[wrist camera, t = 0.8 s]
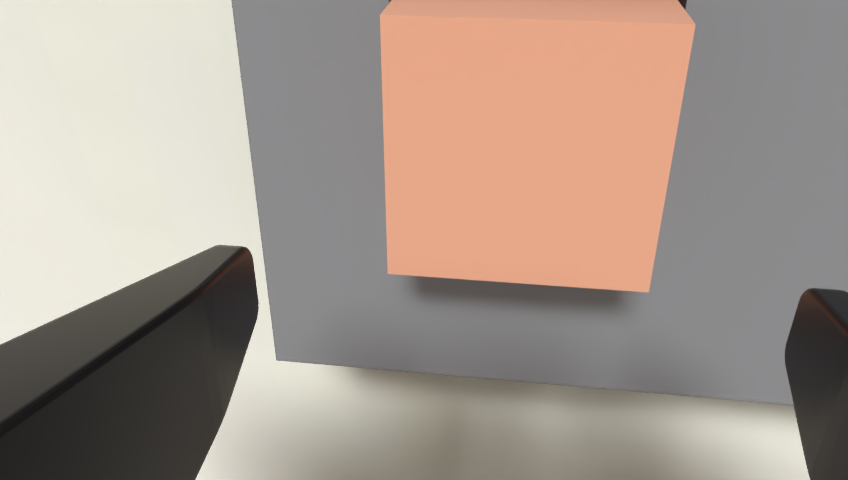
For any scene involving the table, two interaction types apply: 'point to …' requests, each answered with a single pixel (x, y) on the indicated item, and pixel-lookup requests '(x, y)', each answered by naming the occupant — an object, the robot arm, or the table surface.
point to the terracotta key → (530, 137)
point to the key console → (544, 304)
